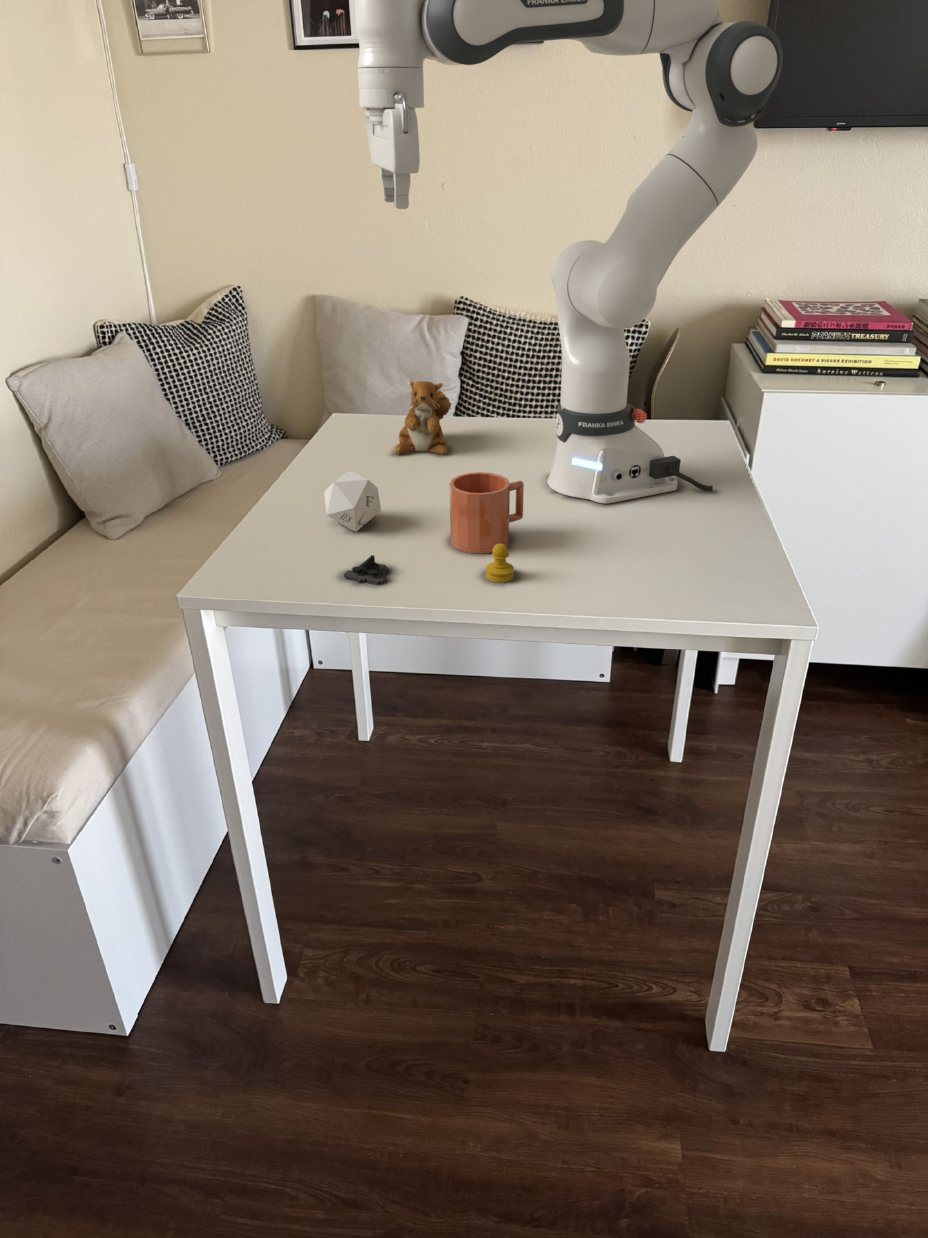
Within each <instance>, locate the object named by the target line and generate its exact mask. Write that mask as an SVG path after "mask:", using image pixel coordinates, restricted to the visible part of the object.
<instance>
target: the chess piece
mask: <svg viewBox="0 0 928 1238" xmlns="http://www.w3.org/2000/svg"><path fill="white" fill-rule="evenodd" d="M508 552H509V551H508V547H507V545H506V546H505V545H504V544H496V545H495V546H494V547H493V550H492V552H491V557H492V558H493V561H492V562H490V563H488V564H487V565H486V567H485V570H486V571H485V578H486V579H487V580H488V581H490V582H493V583H507V582H511V581H512V580H513V579H514V569H515V568H514V565H513V564H511V563H509V562H508V561H507V558H508V557H510V555H509V553H508Z"/></svg>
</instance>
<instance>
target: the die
mask: <svg viewBox="0 0 928 1238" xmlns="http://www.w3.org/2000/svg"><path fill="white" fill-rule="evenodd" d="M323 496H324V504H325V505H324V506H325V514H326V516H327V517H329V518H330V519H332V520H334V521H335V522H337V523H339V524H340V525H342V526H344V527H346V528H347V529H349V530H351V531H353V532H355V533H356V532H358V531H359V530H360V529H362V528H363V526H365V525H366V524H367V523H368V522H369V521H371V520H372V519H373V518H374V517H376V516H377V515H378V514H379V513H380V512H382V508H381V502H380V500H381V499H380V494H379V489H378V486H377V485H375V483H373V482H371V480H369V479H368V478H366V477H364V476H362V475H359V474H357V473H356V472H354V471H351V470H348V471H347V472H345V473H344V474H343V475H341V476H340V477H339V478H337V479H335V481H334V482H333V483H332V484H330V485H329V486H328V487H327V489H325V490H324V491H323Z"/></svg>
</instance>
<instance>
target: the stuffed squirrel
mask: <svg viewBox="0 0 928 1238" xmlns="http://www.w3.org/2000/svg"><path fill="white" fill-rule="evenodd" d="M407 385H408V388H409V390H410V393H411V394H410V397H411V398H410V403H409V405H408V407H409V408H410V407H411V406H412V407H411V408H410V409H409V410H408V413H407V415H406V417H405V419H404V426H403V427H402V428H401V429H400V431H399V432H398V440H399V443H398V444H396V446H394V451H393V452H394V454H395V455H404V454H408V453H410V452H413V451H415V452H420V453H423V452H425V453H426V452H430V453H434V454H437V455H441V456H444V455H446V454H447V452H448V446H447V441H446V439H445V437H444V432H443V429H442V426H441V422H440V420H442V419H444V416H447V414H448V413H449V412H450V410H452V402H451V401H450V399H449V397H448V396H446V394H445V393H443V391H442V390H441V389H442V388H443V387H444V385H443V383H442V382H438V383H436V384H435V383H433V382H431V381H427V380H426V381H424V380H419V381H416V382H414V381H412V380H409V381H408V382H407Z"/></svg>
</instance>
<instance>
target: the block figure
mask: <svg viewBox="0 0 928 1238" xmlns="http://www.w3.org/2000/svg"><path fill="white" fill-rule="evenodd" d="M389 569H390V568H388V566H387V565H386V564H383V563H377V562H376V559H375V555H374V554H371V555H370V556H369V557H368V558H367V559H366V560H364V561H363V562H362V563H361V564H360V565H358V566H353V567H352V568H351V570H347V571H345V572H344V574H343V577H344V578H345V579H346V580H350V581H356V583H358V584H361V583H365V582H366V583H367V584H372V585H376V586H377V585H380V584H381V585H383V583H385V582H386V581H387V577H386V574H387V573H389V572H390V571H389Z"/></svg>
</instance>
